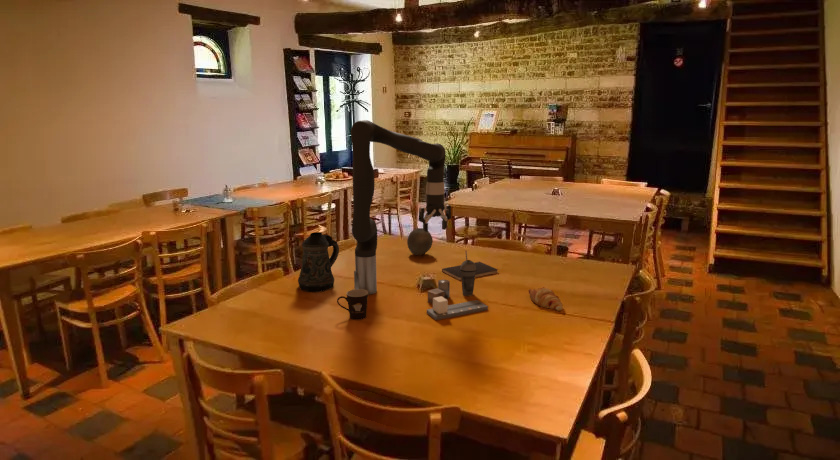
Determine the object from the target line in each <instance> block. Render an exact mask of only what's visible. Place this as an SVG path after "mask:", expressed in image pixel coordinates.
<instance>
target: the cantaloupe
mask: <svg viewBox="0 0 840 460" xmlns="http://www.w3.org/2000/svg"><path fill="white" fill-rule="evenodd" d="M406 239H407V241H406V242H407V243H406V244H407V248H408V251H409V252H410V253H411V254H412V255H415V256H422V255H425V254H426V253H427V252H429V251H430V250H431V248H432V245H433V242H434V241H433V237H432V234H431V232H429V230H428V232H425V231H424V230H423V227H418V228H414V229H413V230H412V231H411V232H410V233H409V235H408V236H407V238H406Z"/></svg>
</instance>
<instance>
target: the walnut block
mask: <svg viewBox="0 0 840 460" xmlns="http://www.w3.org/2000/svg"><path fill="white" fill-rule="evenodd" d="M441 296H442V297H443V298H444V291H442V290H439V289H438V287H437V288H433V289H429V290H427V303H429V304H430V305H431V304H432V305H433V298H435V297H441Z"/></svg>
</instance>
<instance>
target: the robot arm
mask: <svg viewBox="0 0 840 460" xmlns="http://www.w3.org/2000/svg"><path fill="white" fill-rule="evenodd" d="M350 138H351V146H352V147H351V148H352V200H353V201H352V202H353V203H352V205H353V212H352V223H351V234H352V236H353V238H354V239H355V241H356V242H357V243H356V246H355V249H354V263H355V264H354V267H355V270H354V271H353V277H354V280H353V283H354V289H363V290H367V291H368V296H369V295H373V294H376V293H377V292H378V291H377V290H378V284H377V280H378V279H377V248H378V226H377V223H376V222H375V220H374V219H372V218H371V206H372V203H373V198H374V195H375V194H374V193H375V182H376V181H375V171H374V167H373V163H372V160H371V153H370V151H371V149H370V148H371V143H377V144H382V145H385V146H389V147H390V148H393V149H395V150H397V151H399V152H401V153H402V152H403V153H405V154H408V155H411V156H416V157H418V158H421V159H423V160H425V161H428V168H427V170H426V186H425V189H426V190H425V192H426V193H425V205H426V207H422V206H419V209H418V222H420V223H422V228H423V230H424V231H425V232H428V231H429V223H428V222H429V221H430V220H431V219H432V218H435V217H440V218H441V229H442V230H443V231H444V230H447V227H448V220H452V206H451V205H449V204H445V191H446V190H445V177H444V176H445V164H446V149H445V147H444V145H442V144H441V143H437V142H436V143H430V142H427V141H423V140H422V139H421V138H418V137H414V136H411V135H407V134H404V133H400V132H395V131H392V130H390V129H387V128H384V126H383V127H382V126H380V125H378V124H376V123H375V122H372V121H370V120H367V119H364V120H363V119H362V120H358V121H355V122H354V123H353V124H352V125H351V128H350ZM444 211H445V213H444Z"/></svg>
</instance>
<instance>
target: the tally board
mask: <svg viewBox="0 0 840 460" xmlns="http://www.w3.org/2000/svg"><path fill="white" fill-rule="evenodd" d="M488 307H489V306H488V305H486V304H485V303H483V302H482V301H480V300H478V299H476V300H475V299H474V300H469V301H465V302H459V303H455V304H448V312H446V313H441V314H438V313H437V312H435V311H434V310H433V308H428V309H426V314H427V315H429V316H430V317H431V318H432V319H434V320H435V321H439V320H444V319H449V318H454V317H459V316H464V315H469V314H473V313H478V312H483V311H484V312H485V311H488V310H489V308H488Z"/></svg>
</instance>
